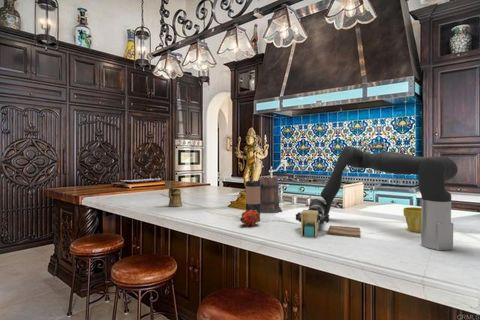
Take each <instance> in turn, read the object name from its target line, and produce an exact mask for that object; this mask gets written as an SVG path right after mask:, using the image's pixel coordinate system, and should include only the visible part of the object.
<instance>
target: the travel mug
mask: <svg viewBox="0 0 480 320" xmlns="http://www.w3.org/2000/svg"><path fill="white" fill-rule="evenodd" d="M250 209H252V210H253V211H254V210H257V212H258V213H259V216H260V218H259V220H260V221H261V213H260V180H247V181H245V211H246V210H248V211H250Z"/></svg>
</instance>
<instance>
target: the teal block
mask: <svg viewBox="0 0 480 320" xmlns="http://www.w3.org/2000/svg"><path fill="white" fill-rule="evenodd" d="M303 236H304V237H312V238H314V237H315V225H307V224H306V225H305V226H304V235H303Z"/></svg>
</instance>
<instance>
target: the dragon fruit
mask: <svg viewBox="0 0 480 320" xmlns="http://www.w3.org/2000/svg"><path fill="white" fill-rule="evenodd" d="M259 218H260V220H259ZM239 220H240V222H241V223H242V224H243V225H242V226H243V227H249V226H251V227H254V226H255V225H256V223H260V221H261V215H260V216H259V213H258V212H257V210H254V211H253V210H252V209H250V211H248V210H246V209H245V211H244V212H242V213H241V218H240V219H239Z"/></svg>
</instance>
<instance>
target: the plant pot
mask: <svg viewBox="0 0 480 320" xmlns="http://www.w3.org/2000/svg"><path fill="white" fill-rule="evenodd" d="M403 216H404V217H405V220H406V221H405V222H406V225H407V230H408V231H410V232H414V233H421V207H416V206H415V207H413V206H408V207H406V206H405V207H403Z"/></svg>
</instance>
